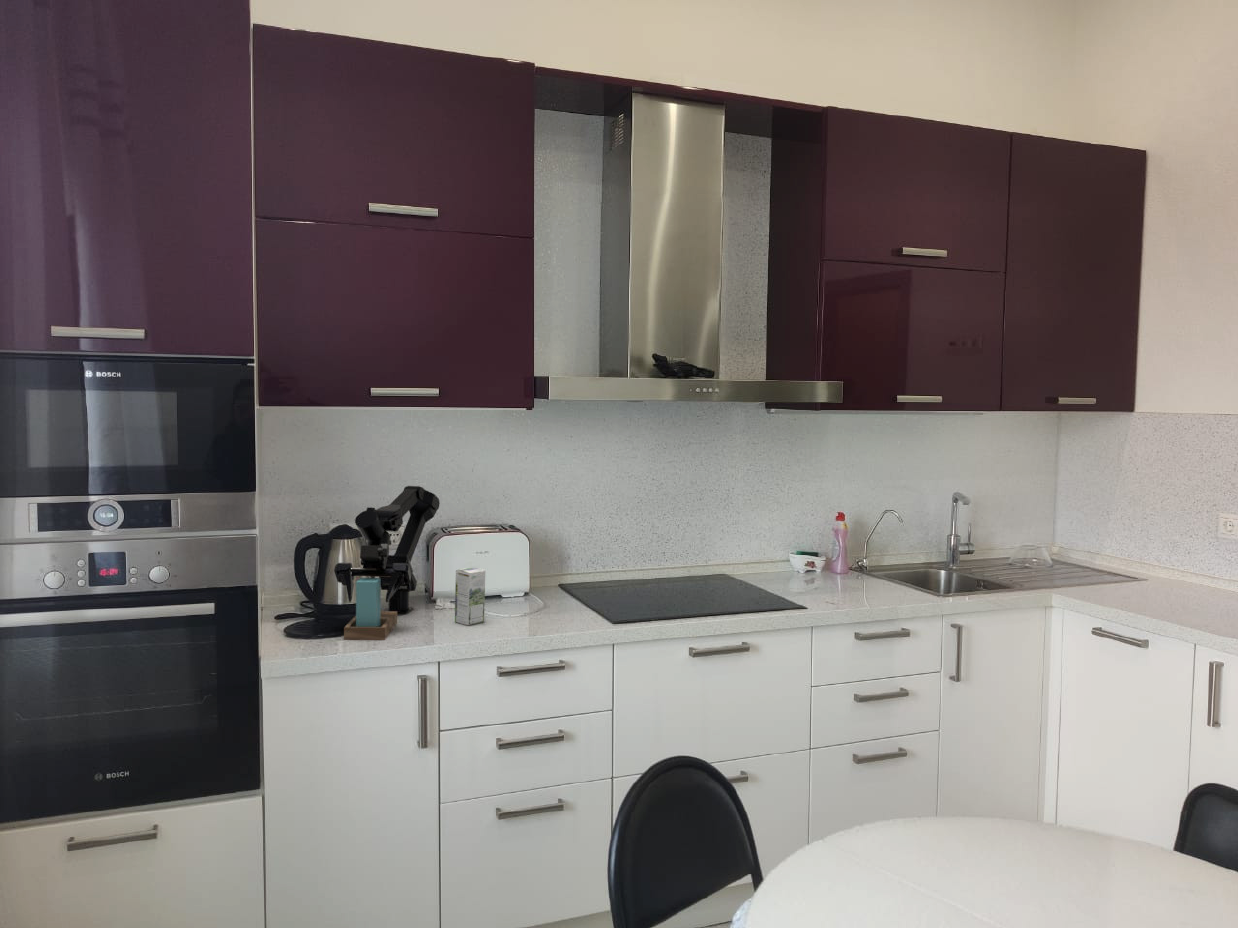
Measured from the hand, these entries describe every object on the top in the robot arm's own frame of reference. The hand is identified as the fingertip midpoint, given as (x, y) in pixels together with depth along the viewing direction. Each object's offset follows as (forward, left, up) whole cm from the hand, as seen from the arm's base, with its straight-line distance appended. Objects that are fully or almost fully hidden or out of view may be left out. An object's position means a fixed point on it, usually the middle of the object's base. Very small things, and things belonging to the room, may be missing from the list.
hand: (368, 601), depth 234 cm
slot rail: (-4, -1, -9) cm, 10 cm away
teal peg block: (-1, 0, -9) cm, 9 cm away
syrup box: (-18, +21, -9) cm, 29 cm away
